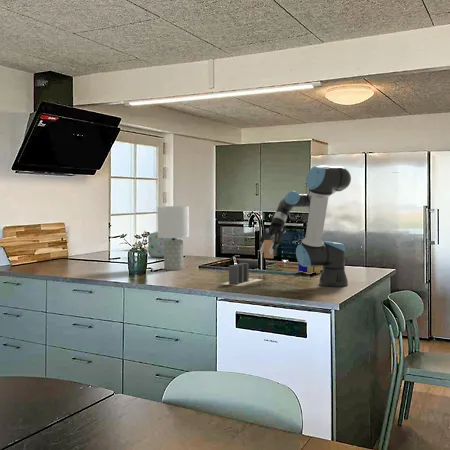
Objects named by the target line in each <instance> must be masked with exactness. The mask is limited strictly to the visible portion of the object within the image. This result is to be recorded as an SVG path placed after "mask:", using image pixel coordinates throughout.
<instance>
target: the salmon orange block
mask: <svg viewBox="0 0 450 450" xmlns="http://www.w3.org/2000/svg"><path fill="white" fill-rule="evenodd" d="M272 243H274V239H269V240H264V252H263V258H264V259H274V255H275V254H274V253H275V251H274V250H275V249H274V250H273V253H272V255H270V253H269V250H270V248H271V245H272Z"/></svg>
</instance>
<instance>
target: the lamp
mask: <svg viewBox="0 0 450 450" xmlns="http://www.w3.org/2000/svg"><path fill="white" fill-rule="evenodd" d="M156 208H157V210H156V212H157V213H156V214H157V232H158V237H159V238H172V239H169V240H165V241H164V258H163V263H164V265H163V266H164V267H163V268H164V270H165V271H182V270H183V269H184V240H183V239H184V238H189V237H190V215H189V214H190V213H189V212H190V206H189V205H187V206H186V205H185V206H184V205H183V206H182V205H177V206H175V205H173V206H172V205H171V206H170V205H167V206H165V205H163V206H157V207H156ZM175 238H181V240H180V239H175Z"/></svg>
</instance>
